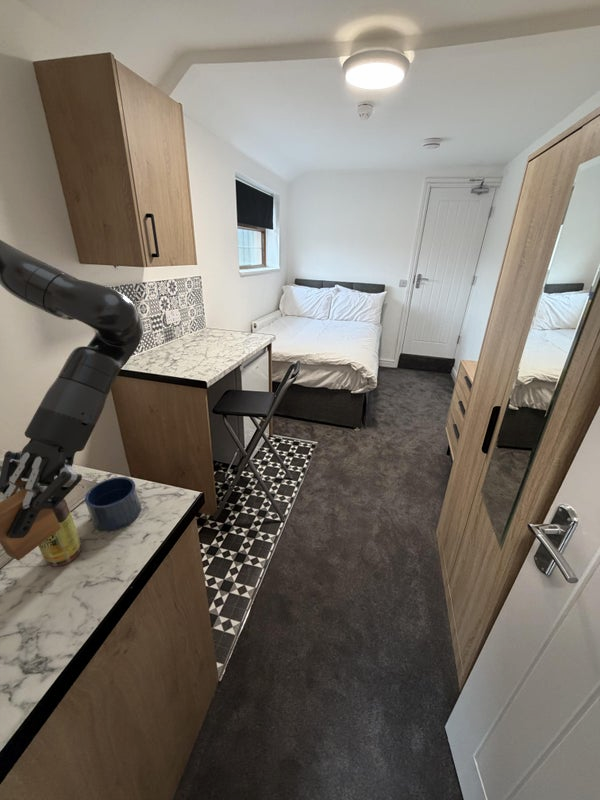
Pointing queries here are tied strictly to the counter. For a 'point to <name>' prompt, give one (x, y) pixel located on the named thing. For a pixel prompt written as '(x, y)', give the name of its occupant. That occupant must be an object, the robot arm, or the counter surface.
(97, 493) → the pot
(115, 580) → the counter surface
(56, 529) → the wooden toy block
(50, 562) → the sauce bottle
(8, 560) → the counter surface
